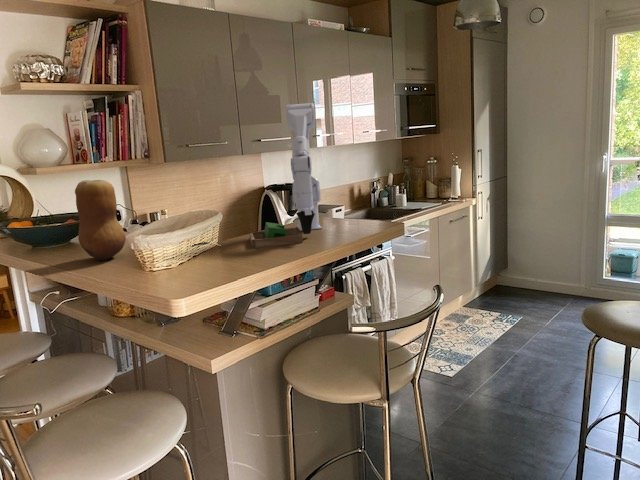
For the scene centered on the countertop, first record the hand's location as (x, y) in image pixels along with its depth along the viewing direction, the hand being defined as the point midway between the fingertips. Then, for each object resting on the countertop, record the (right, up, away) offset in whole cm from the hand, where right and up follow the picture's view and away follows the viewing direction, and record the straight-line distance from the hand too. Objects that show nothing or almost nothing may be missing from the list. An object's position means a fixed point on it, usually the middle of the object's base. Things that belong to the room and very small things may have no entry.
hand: (306, 233), depth 172 cm
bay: (-10, -3, -2) cm, 11 cm away
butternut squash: (-64, -8, -9) cm, 65 cm away
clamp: (-10, -3, -2) cm, 11 cm away
